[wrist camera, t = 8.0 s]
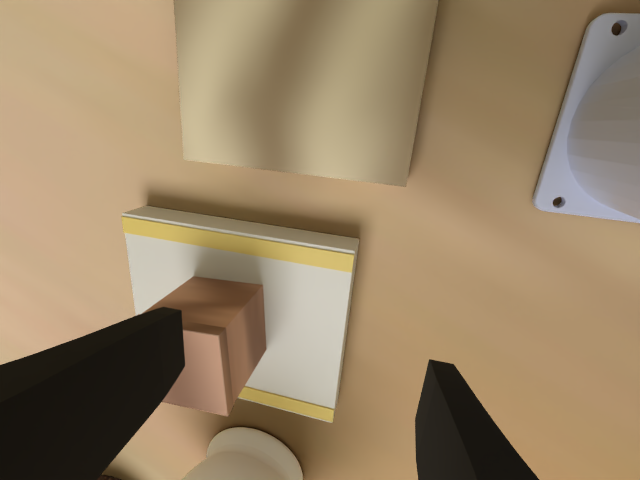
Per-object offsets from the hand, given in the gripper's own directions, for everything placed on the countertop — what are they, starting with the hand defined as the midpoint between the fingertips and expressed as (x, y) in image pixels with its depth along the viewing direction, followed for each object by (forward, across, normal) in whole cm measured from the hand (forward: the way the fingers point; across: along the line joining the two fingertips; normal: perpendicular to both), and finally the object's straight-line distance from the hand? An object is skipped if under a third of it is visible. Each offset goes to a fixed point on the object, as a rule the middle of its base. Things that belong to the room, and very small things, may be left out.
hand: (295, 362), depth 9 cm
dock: (+11, +6, +6) cm, 13 cm away
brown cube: (+9, +6, +5) cm, 12 cm away
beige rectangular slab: (+10, +3, -8) cm, 14 cm away
